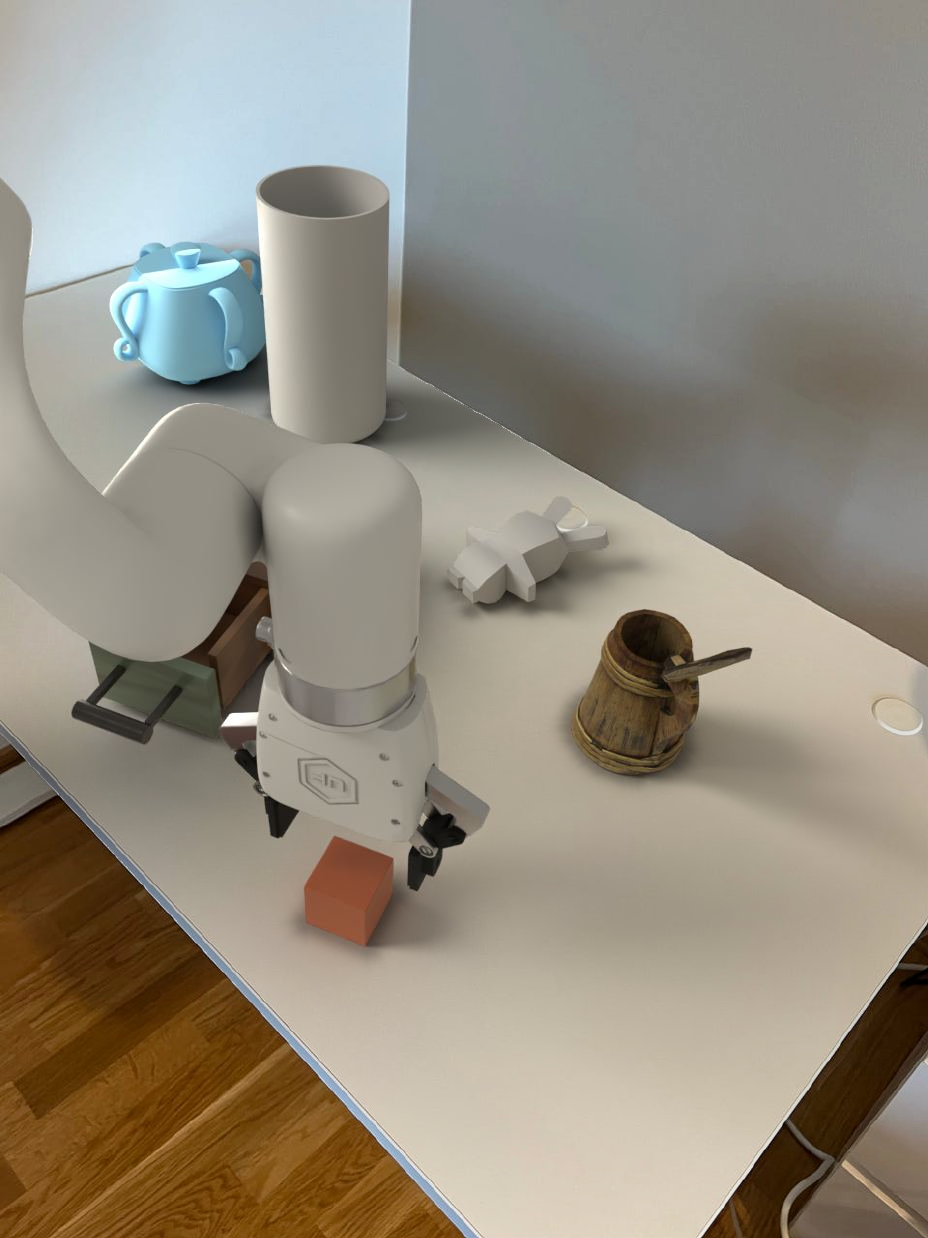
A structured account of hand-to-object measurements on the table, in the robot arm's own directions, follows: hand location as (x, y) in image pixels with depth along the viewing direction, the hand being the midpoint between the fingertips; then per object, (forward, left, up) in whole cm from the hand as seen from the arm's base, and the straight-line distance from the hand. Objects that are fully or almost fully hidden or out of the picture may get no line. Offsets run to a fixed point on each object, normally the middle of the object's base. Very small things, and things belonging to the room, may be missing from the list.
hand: (353, 846), depth 69 cm
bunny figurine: (-1, +39, -8) cm, 40 cm away
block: (0, 0, -8) cm, 8 cm away
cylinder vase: (-29, +54, -8) cm, 62 cm away
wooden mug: (+15, +22, -8) cm, 28 cm away
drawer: (-21, +12, -7) cm, 25 cm away
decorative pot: (-48, +58, -8) cm, 76 cm away
